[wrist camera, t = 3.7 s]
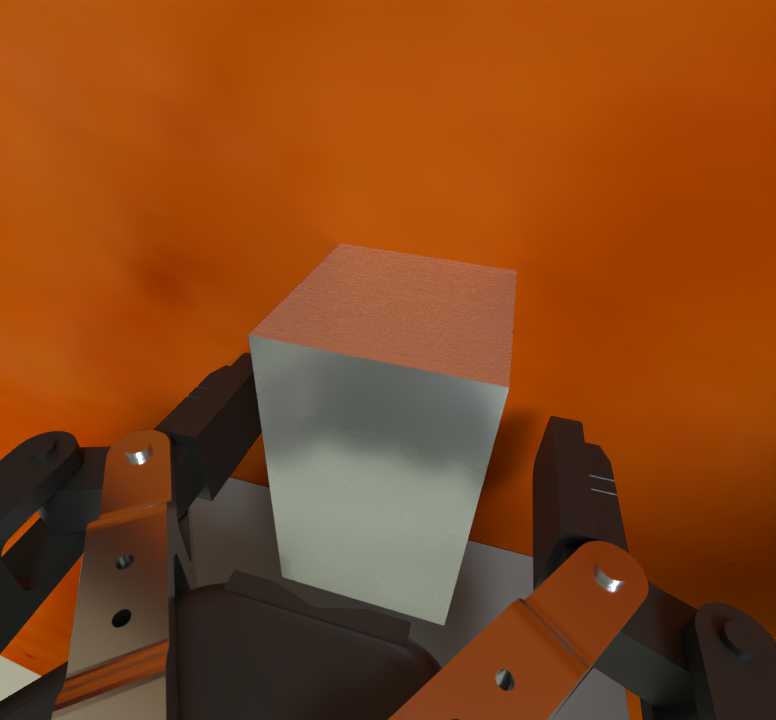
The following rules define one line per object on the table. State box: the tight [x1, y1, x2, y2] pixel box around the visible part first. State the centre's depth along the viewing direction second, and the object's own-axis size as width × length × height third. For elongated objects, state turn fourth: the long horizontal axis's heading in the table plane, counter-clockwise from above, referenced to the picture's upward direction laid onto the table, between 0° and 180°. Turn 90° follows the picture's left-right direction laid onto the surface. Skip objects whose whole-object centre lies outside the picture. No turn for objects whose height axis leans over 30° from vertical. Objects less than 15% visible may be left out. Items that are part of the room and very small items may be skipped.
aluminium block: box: [249, 243, 517, 625], centre depth 12 cm, size 8×5×5 cm, turn 176°
